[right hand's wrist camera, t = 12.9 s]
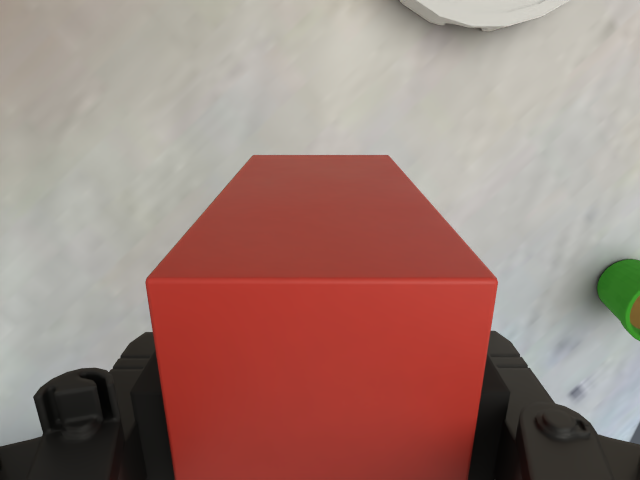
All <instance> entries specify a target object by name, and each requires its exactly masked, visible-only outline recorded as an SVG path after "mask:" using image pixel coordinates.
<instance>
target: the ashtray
mask: <svg viewBox="0 0 640 480" xmlns="http://www.w3.org/2000/svg"><path fill="white" fill-rule="evenodd" d="M568 1H570V0H400V2H401V3H402V4H403V5H404V6H406V7H407V8H409V9H410V10H412V11H413V12H415V13H416V14H418V15H419V16H421V17H422V18H424V19H425V20H427V21H428V22H430V23H434V24H437V25H444V23H449V24H456V25H460V26H464V27H468V28H481V29H482V31H494V30H497V29H501V28H504V27H508V26H511V25H515V24H518V23H522V22H525V21H528V20H532V19H535V18H539V17H542V16H544V15H546V14H548V13H549V12H551V11H553V10H554V9H556V8H558V7H560V6H561V5H563V4H565V3H566V2H568ZM445 26H446V25H445Z"/></svg>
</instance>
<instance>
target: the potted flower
mask: <svg viewBox="0 0 640 480" xmlns="http://www.w3.org/2000/svg"><path fill="white" fill-rule="evenodd" d="M597 291H598V295H599V298H600V299H601V301H602V302H603V303H604V304H605V305H606V306H607V307H608V308H609V309H610V310H611V312H612V313H613V314H614V315H615V316H616V317H617V318H618V319H619V320H620V321H621V323H622V325H623V326H624V328H625V329H626V330H627V331H628V332H629V333H630V334H631V335H632V336H633V337H634V338H635V339H637V340H639V341H640V261H639V260H634V259H629V260H623V261H619V262H617V263H614V264H613V265H611V266H610V267H608V268H607V269H606V270H605V271H604V272H603V274H602V275H601V277H600V279H599V281H598V286H597Z"/></svg>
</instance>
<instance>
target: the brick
mask: <svg viewBox="0 0 640 480" xmlns="http://www.w3.org/2000/svg"><path fill="white" fill-rule="evenodd" d="M497 285H498V281H497V278H496V277H495V276H494V275H493V274H492V272H491V271H490V270H489V269H488V268H487V267H486V266H485V264H484V263H483V262H482V261H481V260H480V259H479V258H478V256H477V255H476V254H475V253H474V252H473V251H472V250H471V249H470V247H469V246H468V245H467V244H466V243H465V242H464V241H463V239H462V238H461V237H460V236H459V235H458V234H457V233H456V231H455V230H454V229H453V228H452V227H451V226H450V225H449V224H448V222H447V221H446V220H445V219H444V218H443V217H442V216H441V214H440V213H439V212H438V211H437V210H436V209H435V208H434V206H433V205H432V204H431V203H430V202H429V201H428V200H427V199H426V197H425V196H424V195H423V194H422V193H421V192H420V191H419V189H418V188H417V187H416V186H415V185H414V184H413V183H412V181H411V180H410V179H409V178H408V177H407V176H406V175H405V174H404V172H403V171H402V170H401V169H400V168H399V167H398V166H397V164H396V163H395V162H394V161H393V160H392V159H391V158H390V156H388V155H253V156H252V157H251V158H250V159H249V160H248V161H247V163H246V164H245V165H244V166H243V167H242V168H241V170H240V171H239V172H238V173H237V174H236V175H235V177H234V178H233V179H232V180H231V181H230V182H229V183H228V185H227V186H226V187H225V188H224V189H223V190H222V192H221V193H220V194H219V195H218V196H217V197H216V199H215V200H214V201H213V202H212V203H211V204H210V205H209V207H208V208H207V209H206V210H205V211H204V212H203V214H202V215H201V216H200V217H199V218H198V219H197V221H196V222H195V223H194V224H193V225H192V226H191V227H190V229H189V230H188V231H187V232H186V233H185V234H184V236H183V237H182V238H181V239H180V240H179V241H178V243H177V244H176V245H175V246H174V247H173V248H172V249H171V251H170V252H169V253H168V254H167V255H166V256H165V258H164V259H163V260H162V261H161V262H160V263H159V265H158V266H157V267H156V268H155V269H154V270H153V271H152V273H151V274H150V275H149V276H148V277H147V279H146V289H147V296H148V303H149V309H150V316H151V323H152V329H153V336H154V343H155V349H156V356H157V363H158V370H159V376H160V383H161V390H162V396H163V403H164V410H165V416H166V423H167V430H168V436H169V443H170V450H171V456H172V463H173V470H174V476H175V480H468V475H469V468H470V462H471V455H472V449H473V442H474V436H475V429H476V423H477V416H478V409H479V403H480V396H481V390H482V383H483V377H484V370H485V364H486V357H487V350H488V344H489V337H490V331H491V324H492V318H493V311H494V305H495V298H496V292H497Z"/></svg>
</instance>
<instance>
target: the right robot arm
mask: <svg viewBox="0 0 640 480" xmlns="http://www.w3.org/2000/svg"><path fill="white" fill-rule="evenodd" d="M33 398H34V401H35V405H36V409H37V412H38V416H39V420H40V423H41V427H42V431H43V435H42V436H41V437H38V438H35V439H31V440H27V441H22V442H18V443H14V444H9V445H5V446H1V447H0V480H175V476H174V470H173V463H172V456H171V450H170V443H169V436H168V430H167V423H166V416H165V410H164V403H163V396H162V390H161V383H160V376H159V370H158V363H157V356H156V349H155V343H154V336H153V332H145V333H144V334H142V335H141V336H139V337H138V338H137V339H135V340H134V341H132V342H131V343H130V344H129V345H128V346H127V348H126V349H125V351H124V352H123V353H122V355H121V358H120V359H118V360H117V362H116V363H115V365H114V366H113V369H111V370H110V372H108V371H107V370H103V369H99V368H82V369H78V370H74V371H70V372H66V373H64V374H62V375H60V376H57V377H55V378H53V379H51V380H50V381H49V382H47V383H46V384H45V385H43V386H42V387H40V389H39V390H38V391H37V393H36V394H35V395H34V397H33ZM468 480H640V445H639V444H635V443H630V442H626V441H622V440H617V439H613V438H609V437H605V436H602V435H598V434H597V432H596V431H595V429H594V428H593V426H592V425H591V423H590V422H589V421H587V420H586V419H585V418H584V417H583V416H581V415H580V414H579V413H577V412H575V411H573V410H571V409H569V408H567V407H565V406H562V405H558V404H555V403H554V401H553V400H552V398H551V397H550V396H549V394H548V393H547V391H546V390H545V389H544V387H543V386H542V385H541V383H540V382H539V380H538V379H537V378H536V376H535V375H534V373H533V372H532V371H531V369H530V368H528V365H527V364H526V362H525V361H524V360H523V358H522V357H520V354H519V353H518V351H517V350H516V348H515V347H514V346H513V344H512V343H511V342H510V341H509V340H507V339H506V338H505V337H503V336H502V335H500V334H499V333H497V332H496V331H490V337H489V344H488V350H487V357H486V364H485V370H484V377H483V383H482V390H481V396H480V403H479V409H478V416H477V423H476V429H475V436H474V442H473V449H472V455H471V462H470V468H469V475H468Z"/></svg>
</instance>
